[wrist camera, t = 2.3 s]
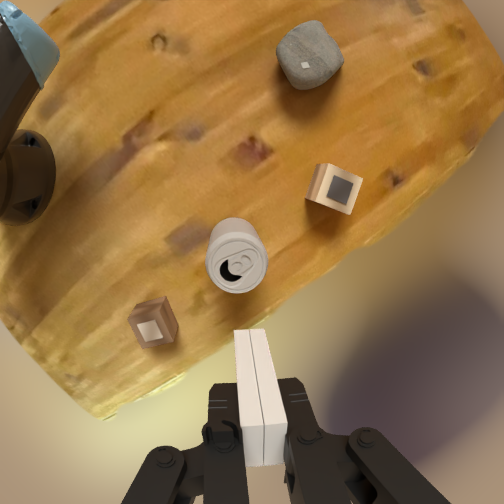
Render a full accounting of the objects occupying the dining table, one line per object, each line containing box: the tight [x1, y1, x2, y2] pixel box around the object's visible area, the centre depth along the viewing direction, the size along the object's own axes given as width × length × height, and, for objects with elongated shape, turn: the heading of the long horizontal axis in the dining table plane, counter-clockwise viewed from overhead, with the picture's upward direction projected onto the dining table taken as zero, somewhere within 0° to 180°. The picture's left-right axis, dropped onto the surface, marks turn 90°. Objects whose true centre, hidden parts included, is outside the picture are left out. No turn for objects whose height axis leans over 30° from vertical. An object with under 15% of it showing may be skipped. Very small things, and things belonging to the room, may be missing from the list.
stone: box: [276, 20, 344, 90], centre depth 32 cm, size 9×9×10 cm
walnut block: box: [127, 296, 178, 349], centre depth 39 cm, size 5×5×5 cm
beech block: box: [305, 163, 363, 215], centre depth 37 cm, size 5×5×5 cm
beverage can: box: [205, 218, 268, 293], centre depth 34 cm, size 6×6×12 cm
